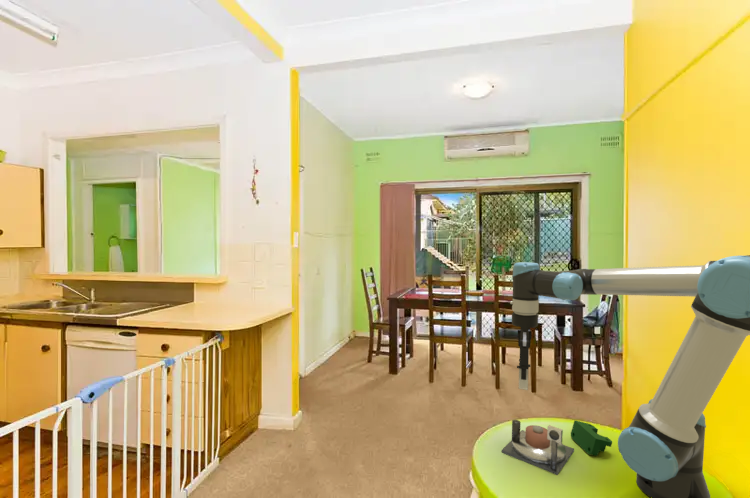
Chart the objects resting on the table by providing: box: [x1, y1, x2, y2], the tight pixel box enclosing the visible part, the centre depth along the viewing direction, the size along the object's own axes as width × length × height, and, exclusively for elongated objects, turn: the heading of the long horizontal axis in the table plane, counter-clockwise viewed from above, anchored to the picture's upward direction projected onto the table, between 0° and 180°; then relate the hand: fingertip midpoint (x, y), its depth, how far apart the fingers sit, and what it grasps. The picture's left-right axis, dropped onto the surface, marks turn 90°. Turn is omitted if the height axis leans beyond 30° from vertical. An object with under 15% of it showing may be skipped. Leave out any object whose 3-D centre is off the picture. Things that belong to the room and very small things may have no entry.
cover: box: [525, 424, 550, 449], centre depth 119 cm, size 7×7×4 cm
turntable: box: [511, 419, 566, 464], centre depth 118 cm, size 15×15×8 cm
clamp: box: [570, 419, 613, 457], centre depth 121 cm, size 12×6×9 cm, turn 177°
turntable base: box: [501, 424, 575, 476], centre depth 118 cm, size 16×16×12 cm
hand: (523, 388), depth 120 cm, fingers closed
